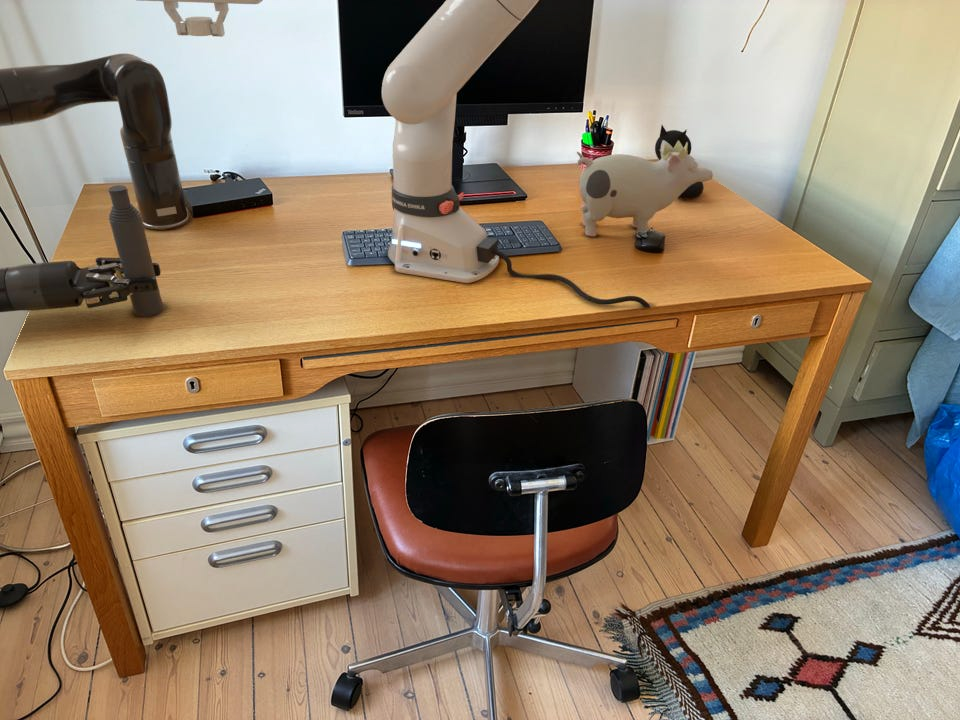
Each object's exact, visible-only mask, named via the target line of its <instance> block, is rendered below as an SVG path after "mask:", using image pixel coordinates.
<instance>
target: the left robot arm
mask: <svg viewBox="0 0 960 720" xmlns="http://www.w3.org/2000/svg"><path fill="white" fill-rule="evenodd" d="M111 102H112V103H116V102H117V103H118V107H119V112H120V116H121V121H122V127H121V128H120V130H119V135H120V138H121V143H122V146H123V151H124V155H125V158H126V159H125V160H126V163H127V166H128V170H129V174H130V178H131V183H132V187H133V191H134V195H135V199H136V203H137V207H138V211H139V213H140V214H141V218H142V222H143V226H144V228H146V229H149V230H158V231H161V230H162V231H164V230H172V229H176V228H179V227H181V226H184V225H185V224H187V223H188V222H189V220H190V217H189V213H188V209H187V204H186V199H185V195H184V189H183V185H182V181H181V176H180V172H179V171H180V170H179V166H178V161H177V157H176V153H175V147H174V143H173V137H172V127H173V121H172V120H173V119H172V115H171V108H170V102H169V95H168V90H167V86H166V83H165V80H164V77H163V75H162V73H161V72H160V70H159V69H158V68H157V67H156V66H155V65H154V64H153V63H152V62H150V61H148V60H146V59H143V58H141V57H140V56H137V55H135V54H133V53H132V54H131V53H117V54H116V53H115V54H111V55H107V56H103V57H98V58H94V59H88V60H85V61H81V62H75V63H68V64H44V65H29V66H15V67H13V66H12V67H6V68H5V67H4V68H0V127H10V126H16V125H22V124H30V123H35V122H40V121H42V120H43V121H44V120H46V119H49V118H53V117H55V116H57V115H59V114H61V113H64V112H66V111H69V110H70V109H72V108H75V107H79V106H83V105H88V104H97V103H98V104H99V103H111ZM95 263H96V264H95V265H90V266H86V267H79V266H78V264H77V263H76V262H75V261H73V260H62V261H60V260H59V261H48V262H39V263H25V264H21V265H20V264H19V265H14V266H8V267H6V266H5V267H0V313H7V312H10V313H11V312H17V311H18V312H19V311H24V312H25V311H26V312H27V311H29V312H30V311H31V312H33V311H35V312H36V311H45V310H56V309H66V308H76V307H81V305H83V302H84V301H85V305H86V307H87V309H93V308H98V307H103V306H108V305H113V304H117V303H122V302H126V301H128V299H129V298H128V297H130V295H132V294H133V292H134V293H135V292H146V291H156V290H157V289H158V287H159V284H158V285H157V283H158V281H157V280H158V279H157V277H160V276H161V273H162V271H161V268H160V264H159V263H158V262H152V263H153V267H154V271H155V275H156V278H155V277H146V278H134V279H131V282H130V280H129V279H125V276H124V272H123V269H122V265H121V261H120V258H119V257H101V256H99V257H97V258H95ZM156 279H157V280H156Z"/></svg>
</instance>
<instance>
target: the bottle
mask: <svg viewBox="0 0 960 720" xmlns="http://www.w3.org/2000/svg"><path fill="white" fill-rule="evenodd" d="M107 192H108V195H109V196H110V200H111V205H112V206H111V209H110V211H109V214H108V221H109V224H110V228H111V231H112V236H113V239H114V242H115V247H116V250H117V254H118V258H120V261H121V264H120V265H122V269H123V272H124V274H123V275H124V276H125V279H129V280H130V282H131V279H134V278H146V277H155V278H156V280H158V279H157V276H156V275H155V271H154V267H153V263H154V262H153V259H152V254H151V251H150V247H149V243H148V238H147V235H146V231H145V227H144V226H143V222H142V218H141V214H140V212H139V209H137V208H136V207H135V206H134V205H133V203H131V200H130V196H129V189H128V188H127V186H126V185H123V184H122V185H120V184H118V185H113V186H110V187H109V188H108V190H107ZM157 285H158V289H157V290H156V291H146V292H135V293H134V292H133V294H132V295H130V296H129V298H130V301H131V305H132V307H133V308H132V309H133V313H134V314H135V315H136V316H138V317H141V318H142V317H143V318H144V317H145V318H146V317H153V316H156V315H159V314H160V313H161V312H163V310H164V303H163V300H162V296H161V292H160V288H159V283H158V282H157Z"/></svg>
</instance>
